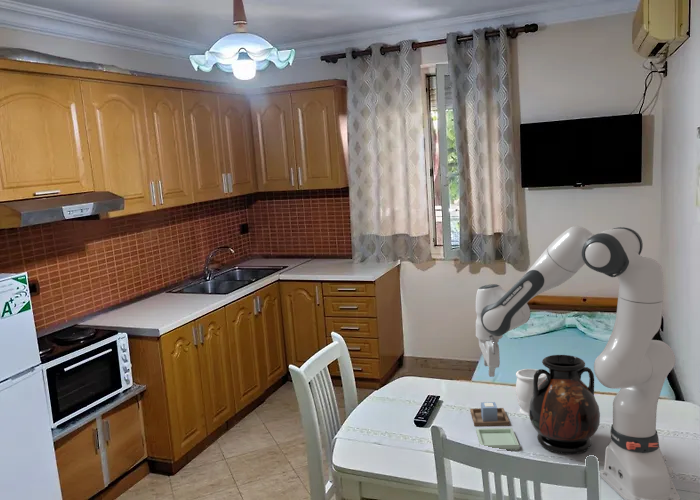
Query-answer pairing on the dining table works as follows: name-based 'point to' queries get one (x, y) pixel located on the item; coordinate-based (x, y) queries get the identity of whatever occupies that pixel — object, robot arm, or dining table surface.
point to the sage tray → (498, 438)
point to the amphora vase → (564, 406)
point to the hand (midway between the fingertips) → (489, 370)
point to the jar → (526, 388)
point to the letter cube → (489, 411)
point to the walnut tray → (479, 421)
